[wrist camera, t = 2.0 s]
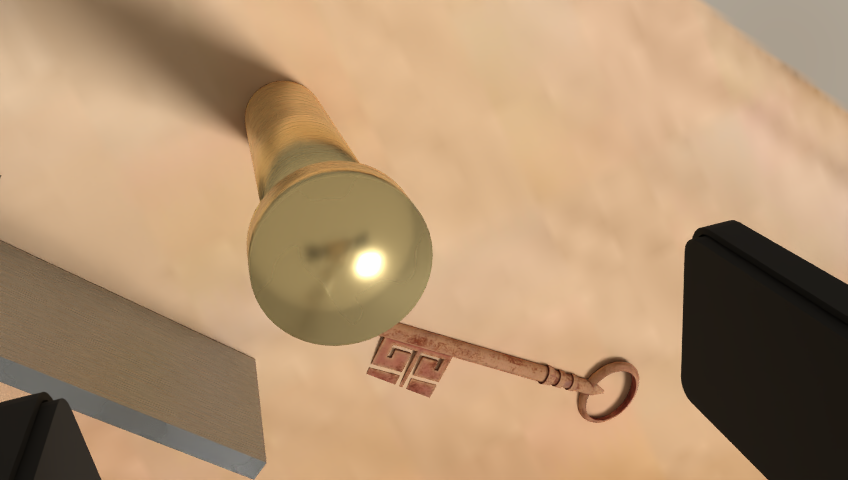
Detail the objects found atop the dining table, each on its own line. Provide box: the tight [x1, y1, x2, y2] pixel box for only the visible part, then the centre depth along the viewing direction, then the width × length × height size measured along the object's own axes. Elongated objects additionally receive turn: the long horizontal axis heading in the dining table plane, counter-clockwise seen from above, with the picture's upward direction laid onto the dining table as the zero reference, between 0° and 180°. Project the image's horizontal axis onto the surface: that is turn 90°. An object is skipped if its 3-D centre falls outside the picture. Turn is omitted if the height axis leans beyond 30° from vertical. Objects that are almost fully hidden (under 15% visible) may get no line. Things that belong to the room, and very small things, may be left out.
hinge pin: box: [245, 81, 433, 346], centre depth 22 cm, size 4×4×14 cm
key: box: [367, 323, 639, 423], centre depth 36 cm, size 6×1×15 cm
